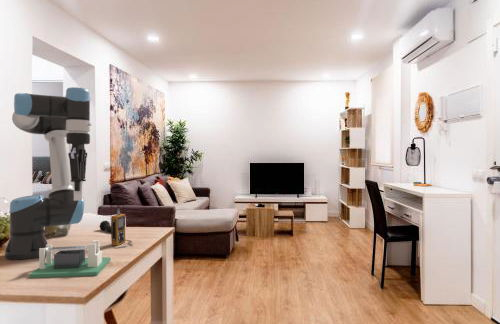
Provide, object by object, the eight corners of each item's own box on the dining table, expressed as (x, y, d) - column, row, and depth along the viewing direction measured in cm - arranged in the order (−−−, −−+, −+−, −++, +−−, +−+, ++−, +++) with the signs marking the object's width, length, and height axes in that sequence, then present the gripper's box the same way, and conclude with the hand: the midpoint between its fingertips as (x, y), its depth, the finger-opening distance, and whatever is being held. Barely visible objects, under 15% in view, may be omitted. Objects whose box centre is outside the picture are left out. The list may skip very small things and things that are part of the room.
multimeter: (128, 249, 160) (128, 202, 159) (106, 248, 161) (106, 201, 161) (144, 241, 174) (144, 198, 174) (124, 240, 176) (123, 197, 175)
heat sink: (53, 269, 128) (53, 254, 127) (62, 262, 136) (62, 249, 135) (78, 268, 129) (78, 254, 129) (85, 261, 137) (85, 248, 136)
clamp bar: (40, 255, 129) (40, 248, 129) (45, 252, 133) (45, 246, 133) (92, 252, 131) (92, 246, 131) (95, 249, 135) (95, 243, 135)
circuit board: (29, 277, 122) (29, 250, 122) (51, 262, 140) (51, 238, 140) (97, 275, 125) (97, 248, 124) (110, 260, 142) (110, 236, 142)
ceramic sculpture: (73, 218, 184) (39, 223, 174) (74, 235, 185) (40, 242, 175) (67, 215, 192) (34, 220, 182) (68, 232, 193) (35, 238, 183)
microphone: (120, 240, 189) (105, 230, 203) (123, 230, 190) (109, 220, 203) (110, 238, 186) (96, 228, 199) (114, 228, 186) (100, 218, 200)
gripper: (83, 131, 126) (84, 202, 126) (94, 133, 139) (94, 197, 139) (59, 131, 125) (60, 202, 125) (73, 133, 138) (73, 198, 138)
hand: (78, 200), depth 132 cm, fingers closed
